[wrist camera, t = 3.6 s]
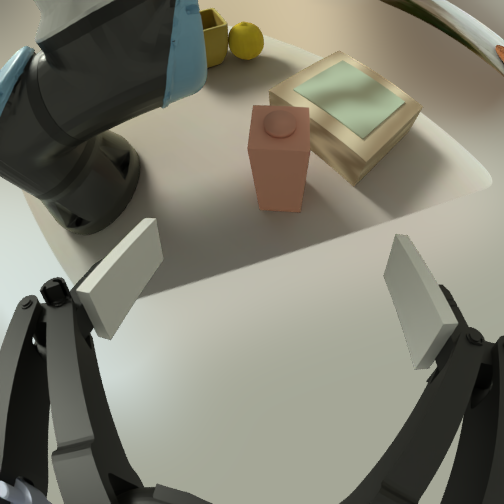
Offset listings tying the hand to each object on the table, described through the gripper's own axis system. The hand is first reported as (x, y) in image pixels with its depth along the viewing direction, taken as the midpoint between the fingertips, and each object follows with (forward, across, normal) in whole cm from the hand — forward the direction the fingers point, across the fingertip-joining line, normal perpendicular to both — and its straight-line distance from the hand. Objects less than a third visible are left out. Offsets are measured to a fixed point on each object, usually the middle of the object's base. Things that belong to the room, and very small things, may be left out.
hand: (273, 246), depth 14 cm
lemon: (+36, -7, +15) cm, 39 cm away
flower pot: (+36, -14, +15) cm, 41 cm away
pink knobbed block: (+17, 0, -3) cm, 18 cm away
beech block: (+26, +8, +5) cm, 27 cm away
